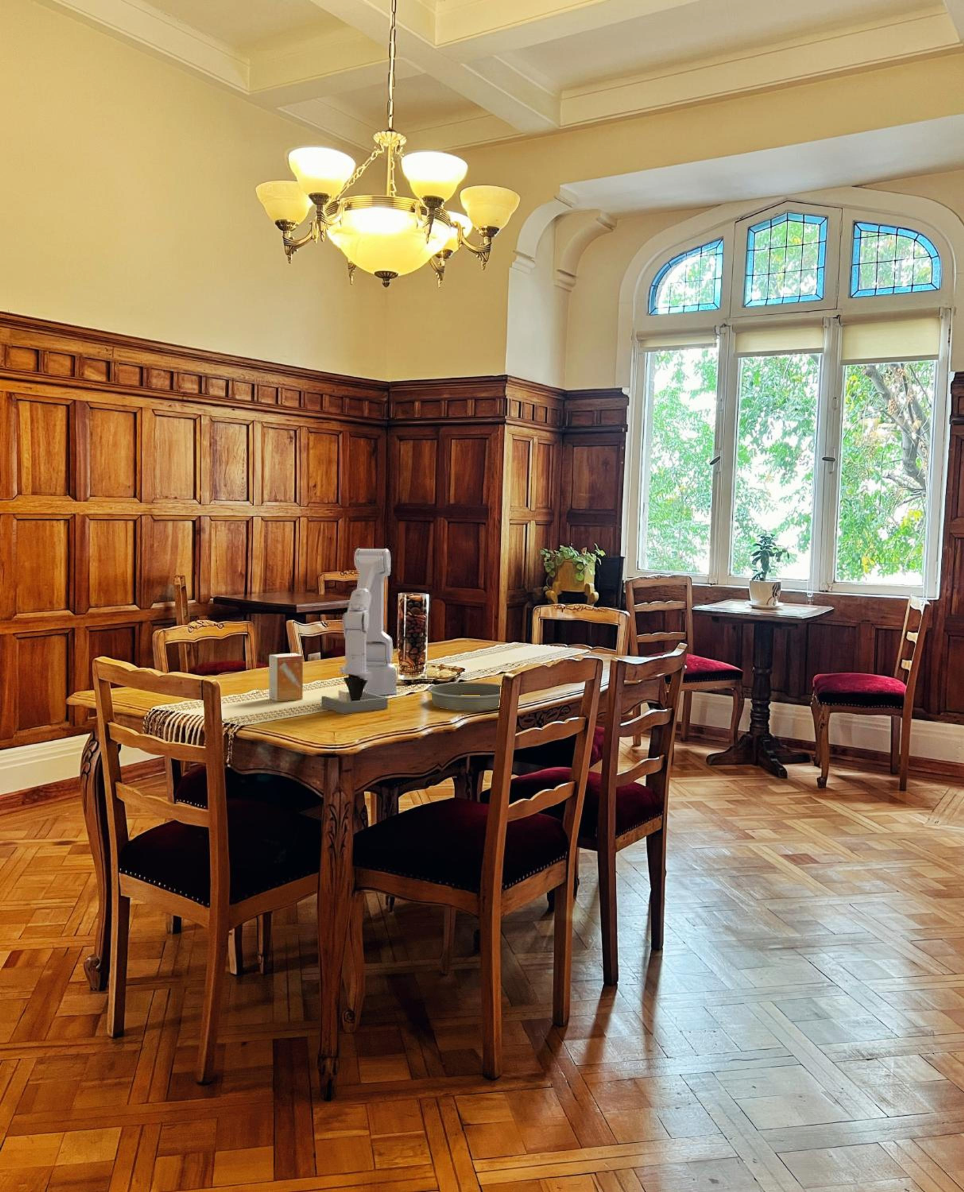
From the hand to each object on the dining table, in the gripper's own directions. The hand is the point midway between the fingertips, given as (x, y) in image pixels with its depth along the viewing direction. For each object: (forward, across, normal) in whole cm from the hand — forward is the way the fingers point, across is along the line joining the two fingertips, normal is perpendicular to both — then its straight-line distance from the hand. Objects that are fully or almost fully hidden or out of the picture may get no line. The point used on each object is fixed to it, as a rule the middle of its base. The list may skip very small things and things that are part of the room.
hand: (355, 702), depth 281 cm
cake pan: (+2, +12, +31) cm, 33 cm away
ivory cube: (+2, -4, 0) cm, 4 cm away
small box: (+2, -24, -10) cm, 26 cm away
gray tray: (+2, -1, 0) cm, 2 cm away
